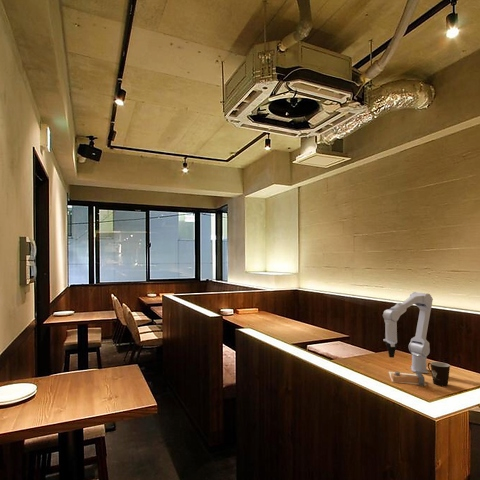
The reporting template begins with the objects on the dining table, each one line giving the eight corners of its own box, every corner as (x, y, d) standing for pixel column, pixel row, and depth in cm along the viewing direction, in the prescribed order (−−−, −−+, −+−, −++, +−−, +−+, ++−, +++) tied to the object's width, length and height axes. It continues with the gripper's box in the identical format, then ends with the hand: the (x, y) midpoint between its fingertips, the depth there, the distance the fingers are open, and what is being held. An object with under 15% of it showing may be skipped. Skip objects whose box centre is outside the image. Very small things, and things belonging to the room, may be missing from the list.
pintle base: (388, 371, 191) (388, 364, 191) (420, 375, 186) (420, 367, 186) (391, 381, 176) (391, 373, 176) (426, 385, 171) (426, 377, 171)
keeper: (415, 379, 179) (415, 371, 179) (420, 380, 178) (420, 371, 178) (419, 385, 170) (418, 376, 171) (424, 386, 170) (424, 377, 170)
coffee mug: (453, 388, 168) (452, 367, 168) (434, 386, 169) (433, 366, 170) (444, 379, 179) (443, 360, 180) (426, 378, 181) (426, 359, 181)
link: (393, 381, 176) (393, 376, 176) (391, 377, 181) (391, 372, 181) (425, 383, 172) (424, 378, 172) (422, 380, 177) (422, 375, 177)
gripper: (382, 328, 194) (382, 352, 193) (384, 334, 180) (384, 360, 180) (395, 329, 192) (395, 354, 191) (399, 335, 178) (399, 361, 177)
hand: (391, 357), depth 185 cm, fingers closed
